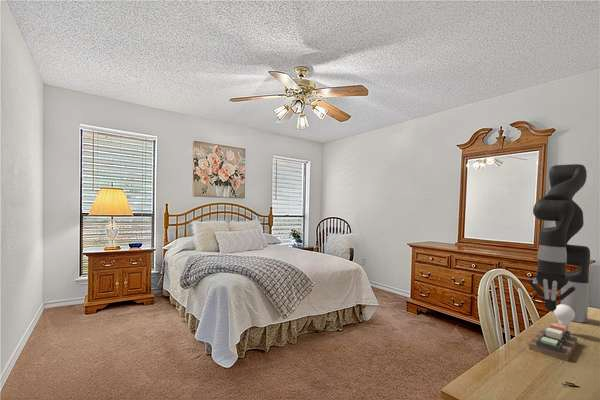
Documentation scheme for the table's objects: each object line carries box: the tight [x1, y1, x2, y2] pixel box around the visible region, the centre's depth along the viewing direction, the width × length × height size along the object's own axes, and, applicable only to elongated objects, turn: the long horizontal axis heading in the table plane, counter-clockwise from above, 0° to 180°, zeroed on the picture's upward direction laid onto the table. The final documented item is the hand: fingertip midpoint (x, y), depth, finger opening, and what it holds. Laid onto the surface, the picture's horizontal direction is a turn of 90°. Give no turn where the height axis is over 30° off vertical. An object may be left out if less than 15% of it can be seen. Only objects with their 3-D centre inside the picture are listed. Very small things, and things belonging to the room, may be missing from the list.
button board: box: [528, 326, 578, 362], centre depth 107 cm, size 22×10×4 cm, turn 131°
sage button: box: [541, 337, 558, 347], centre depth 102 cm, size 4×4×2 cm
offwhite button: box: [545, 326, 563, 340], centre depth 107 cm, size 4×4×2 cm
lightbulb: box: [553, 304, 575, 331], centre depth 121 cm, size 6×6×11 cm
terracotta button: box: [549, 322, 567, 334], centre depth 113 cm, size 4×4×2 cm
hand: (550, 310), depth 102 cm, fingers closed
